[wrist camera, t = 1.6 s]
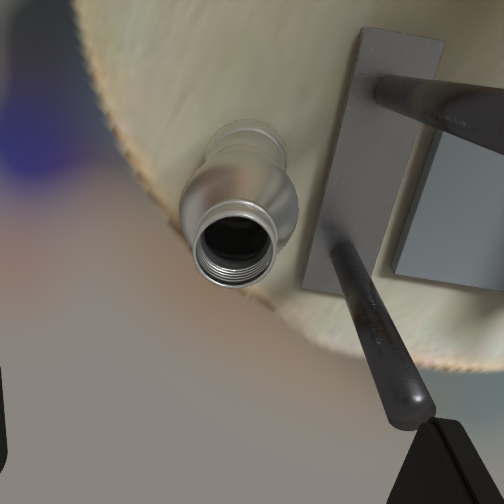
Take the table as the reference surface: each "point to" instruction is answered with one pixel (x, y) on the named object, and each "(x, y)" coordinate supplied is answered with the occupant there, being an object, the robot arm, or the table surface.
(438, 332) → the table surface
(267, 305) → the table surface
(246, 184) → the silver bottle
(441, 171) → the switch board
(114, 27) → the table surface
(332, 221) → the cord gate
